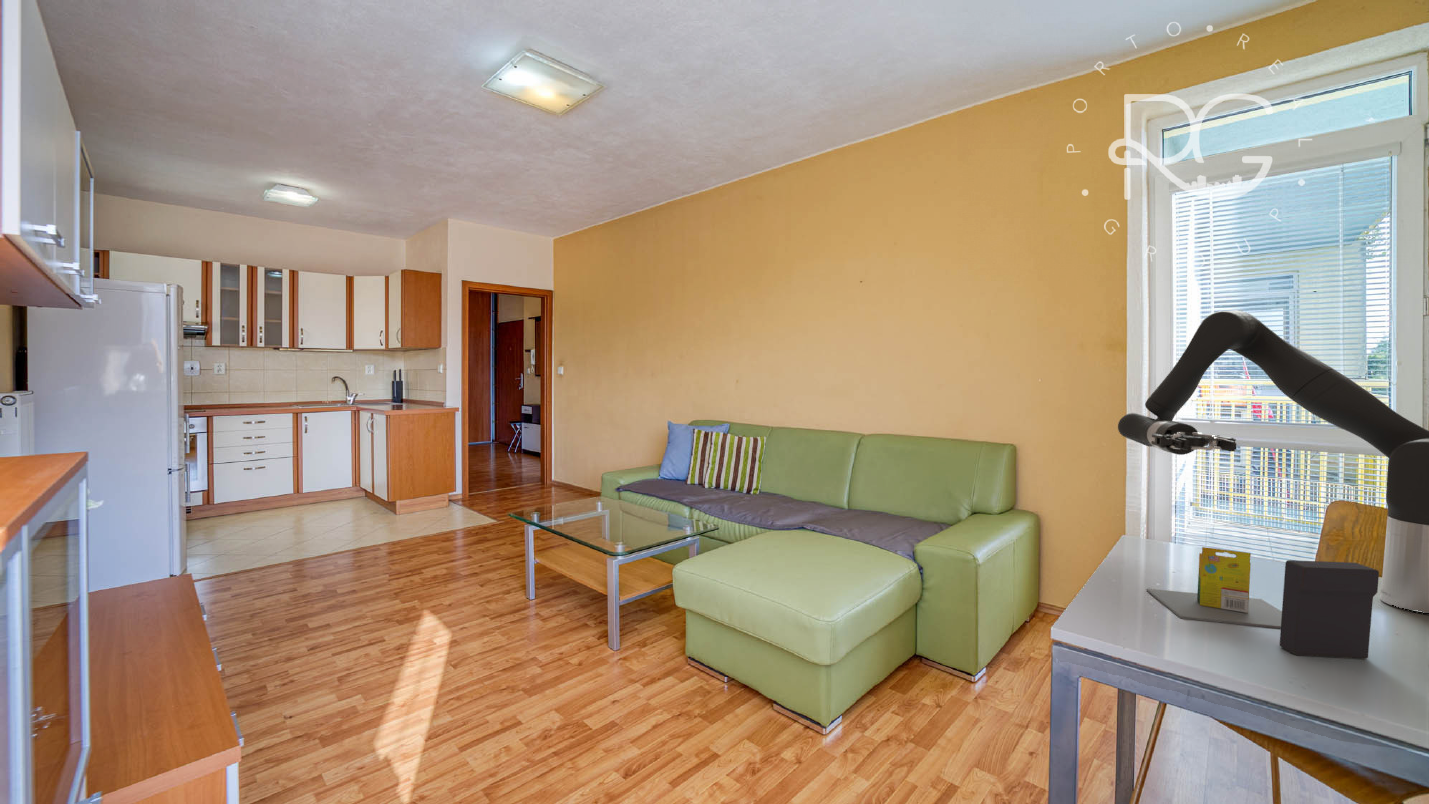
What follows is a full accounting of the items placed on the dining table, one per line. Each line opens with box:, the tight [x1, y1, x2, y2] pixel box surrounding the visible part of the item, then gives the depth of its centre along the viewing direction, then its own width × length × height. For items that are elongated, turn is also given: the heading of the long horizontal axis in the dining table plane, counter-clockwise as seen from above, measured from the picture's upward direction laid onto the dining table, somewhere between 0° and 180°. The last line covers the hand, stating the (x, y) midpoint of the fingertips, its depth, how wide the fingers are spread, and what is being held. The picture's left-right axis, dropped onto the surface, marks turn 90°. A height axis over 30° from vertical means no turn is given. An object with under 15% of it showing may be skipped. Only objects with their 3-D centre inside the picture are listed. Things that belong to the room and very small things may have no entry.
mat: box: [1145, 588, 1282, 630], centre depth 113 cm, size 20×14×1 cm
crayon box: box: [1196, 546, 1252, 614], centre depth 113 cm, size 7×3×12 cm, turn 58°
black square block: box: [1279, 559, 1380, 660], centre depth 96 cm, size 11×4×15 cm, turn 84°
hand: (1209, 445), depth 126 cm, fingers open, 8 cm apart
